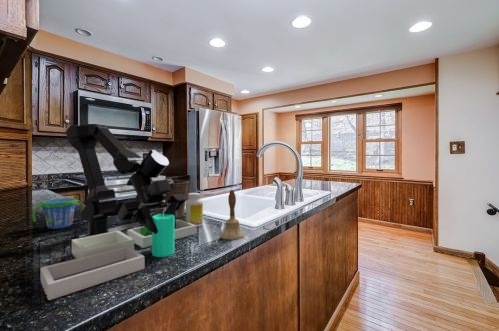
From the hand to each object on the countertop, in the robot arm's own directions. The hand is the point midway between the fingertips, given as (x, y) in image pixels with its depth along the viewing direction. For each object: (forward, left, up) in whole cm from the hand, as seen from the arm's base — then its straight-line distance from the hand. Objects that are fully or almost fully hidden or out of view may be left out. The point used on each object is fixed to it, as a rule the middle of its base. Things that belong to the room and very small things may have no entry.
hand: (166, 230), depth 67 cm
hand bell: (+2, +24, -7) cm, 25 cm away
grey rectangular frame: (0, -17, -7) cm, 18 cm away
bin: (-12, -12, -7) cm, 19 cm away
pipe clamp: (-16, +5, -7) cm, 18 cm away
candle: (-1, 0, -7) cm, 7 cm away
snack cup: (-53, -15, -7) cm, 56 cm away
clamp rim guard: (-15, +7, -7) cm, 18 cm away
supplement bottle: (-18, +22, -7) cm, 29 cm away
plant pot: (-38, +23, -7) cm, 45 cm away
